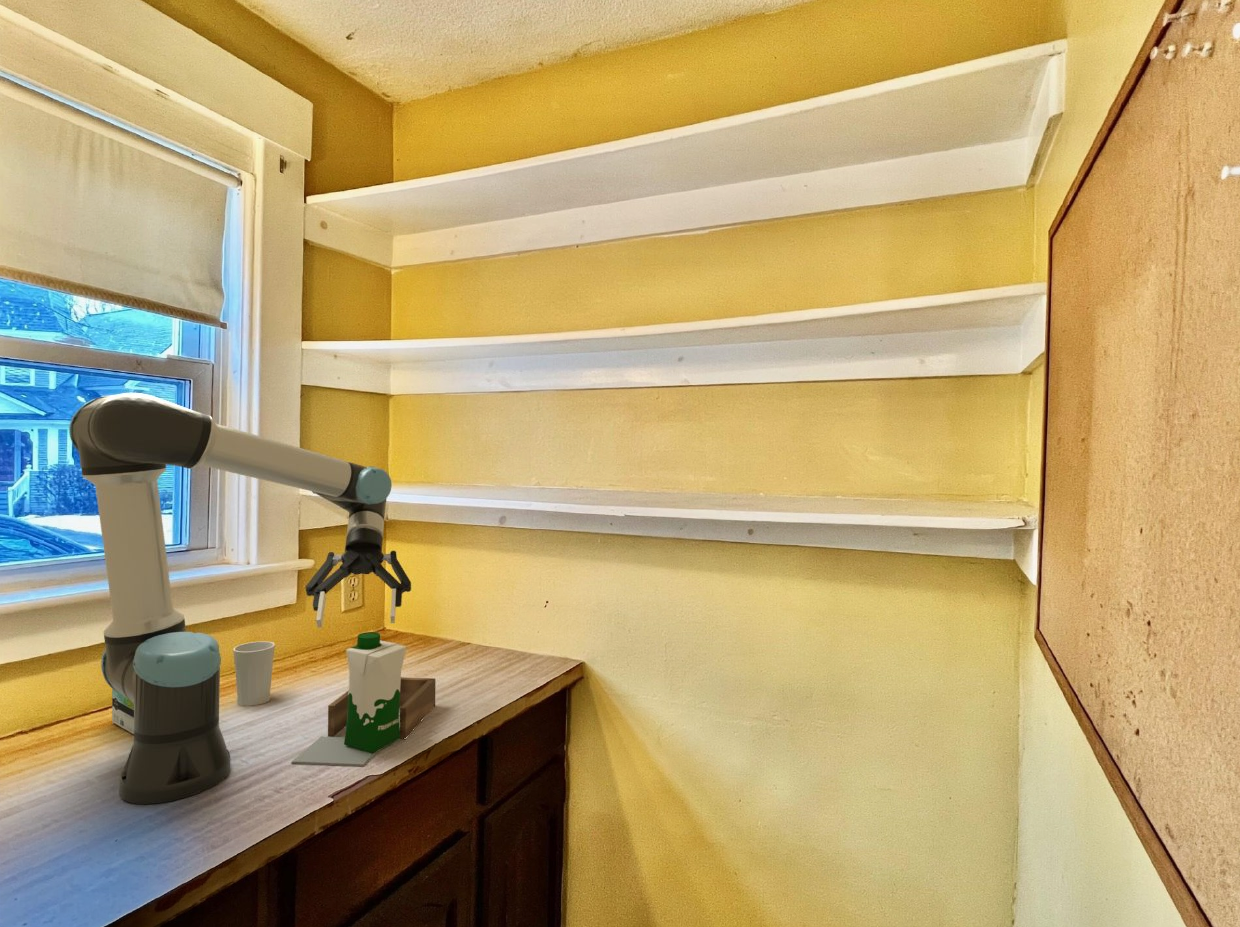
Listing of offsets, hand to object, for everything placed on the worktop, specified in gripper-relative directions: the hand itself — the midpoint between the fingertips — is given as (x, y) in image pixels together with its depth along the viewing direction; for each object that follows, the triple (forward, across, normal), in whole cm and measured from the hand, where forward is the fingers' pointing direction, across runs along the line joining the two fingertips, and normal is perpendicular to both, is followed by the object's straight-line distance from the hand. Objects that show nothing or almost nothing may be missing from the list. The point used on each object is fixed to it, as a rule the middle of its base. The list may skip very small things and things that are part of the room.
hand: (356, 621), depth 125 cm
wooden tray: (+13, -5, -18) cm, 22 cm away
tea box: (+7, +39, -24) cm, 46 cm away
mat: (+22, +1, -8) cm, 24 cm away
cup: (0, +23, -31) cm, 38 cm away
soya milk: (+21, -4, -9) cm, 23 cm away
